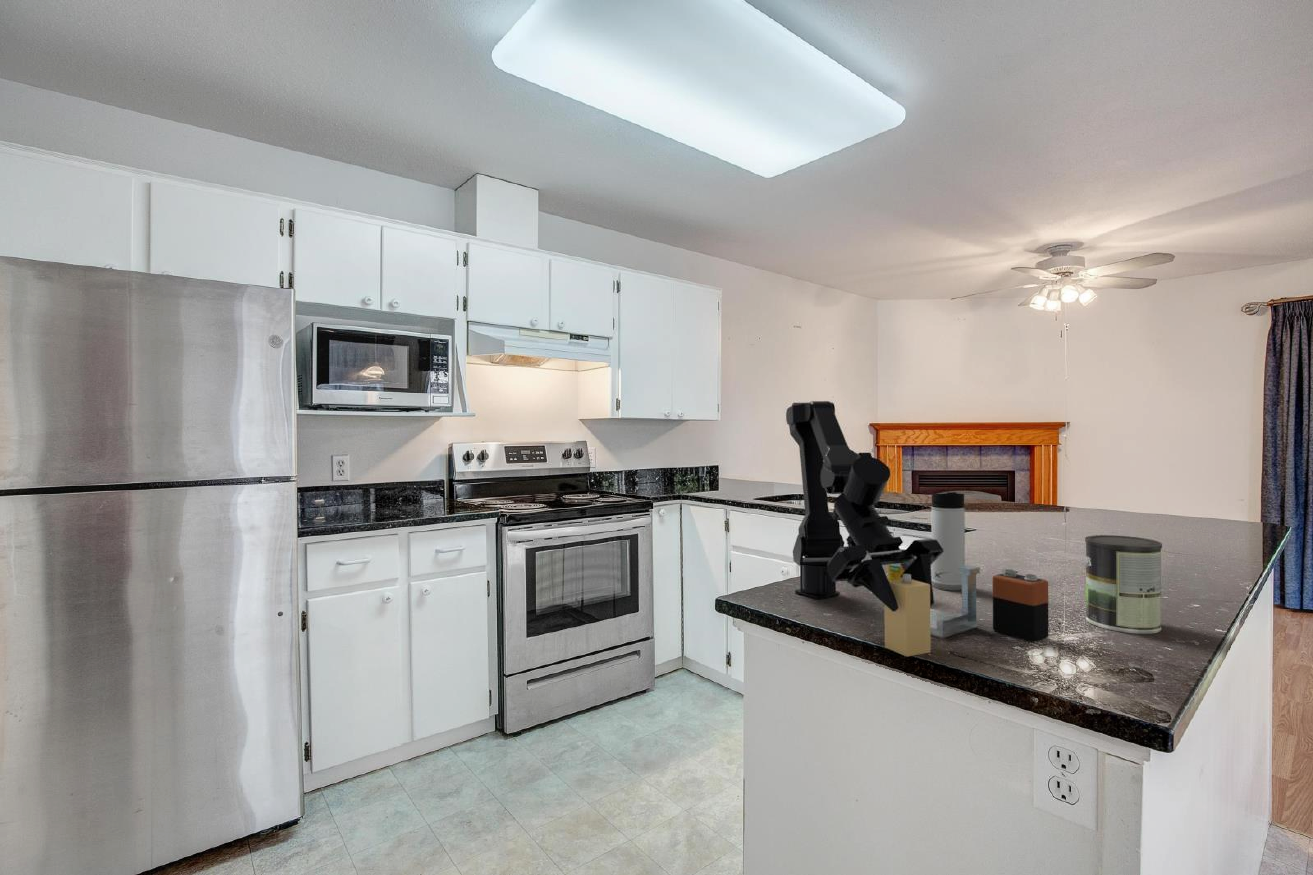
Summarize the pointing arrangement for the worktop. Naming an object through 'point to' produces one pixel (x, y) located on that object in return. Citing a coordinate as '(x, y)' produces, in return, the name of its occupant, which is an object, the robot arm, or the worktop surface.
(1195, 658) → the worktop surface
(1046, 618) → the battery
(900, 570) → the supplement bottle
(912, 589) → the block
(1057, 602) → the worktop surface
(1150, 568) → the coffee can
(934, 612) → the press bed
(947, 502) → the travel mug
